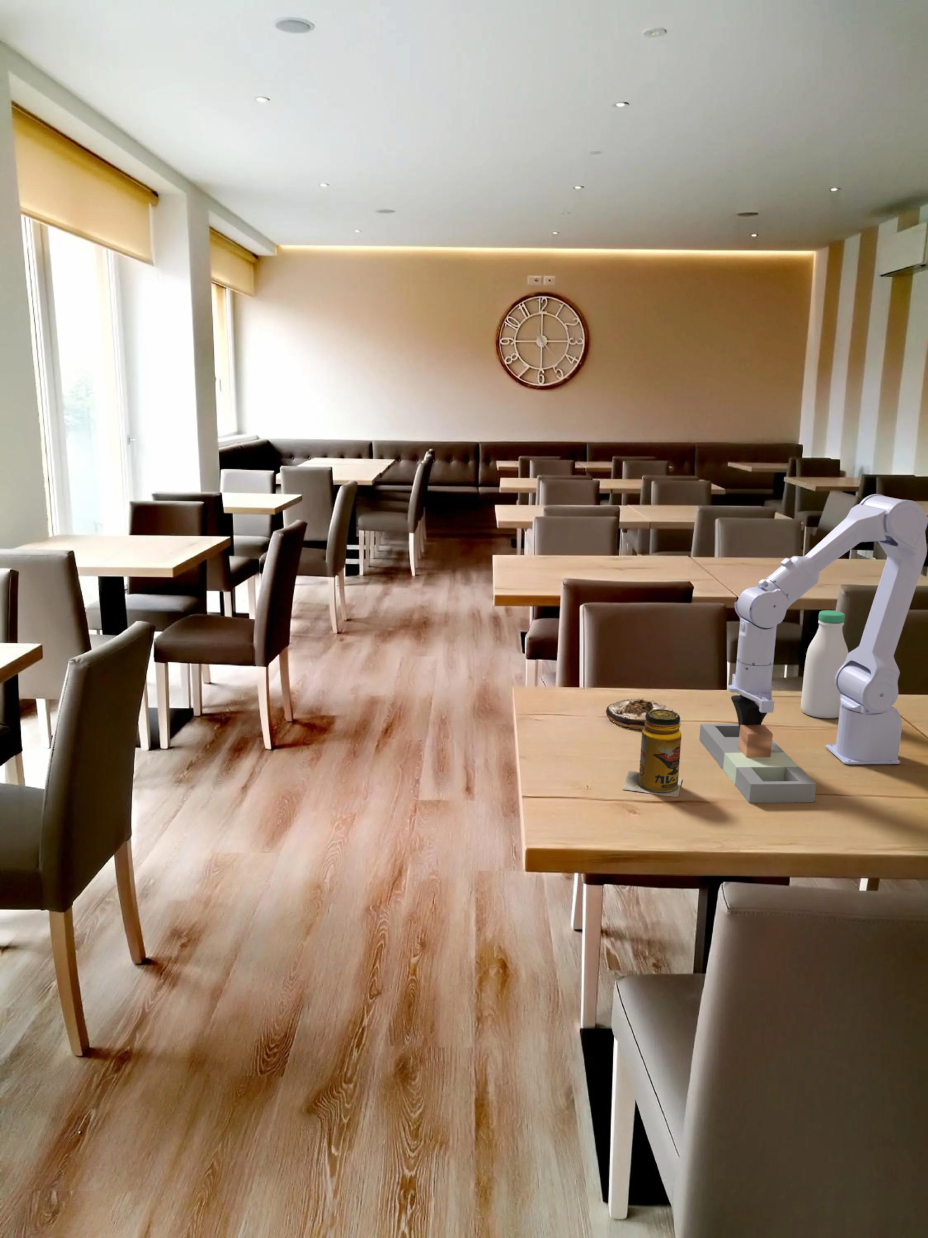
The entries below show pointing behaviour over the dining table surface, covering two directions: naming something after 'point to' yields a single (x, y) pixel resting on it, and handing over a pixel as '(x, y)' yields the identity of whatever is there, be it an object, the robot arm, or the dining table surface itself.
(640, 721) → the plate of food
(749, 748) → the block
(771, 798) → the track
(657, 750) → the condiment
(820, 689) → the milk bottle
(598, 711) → the dining table surface
